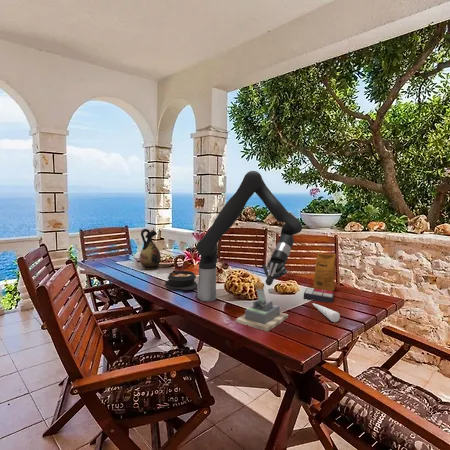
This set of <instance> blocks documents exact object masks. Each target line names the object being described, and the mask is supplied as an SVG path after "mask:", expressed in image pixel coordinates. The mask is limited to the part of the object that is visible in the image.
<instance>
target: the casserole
mask: <svg viewBox="0 0 450 450" xmlns="http://www.w3.org/2000/svg"><path fill="white" fill-rule="evenodd" d="M196 278H197V276H196V275H195V273H194V272H193V271H190V270H176V271H172V272H170V273H169V275H168V276H167V279H168V280H165V281H164V283H165V286H166V287H168V288H170V289H174V290H178V291H191V290H195V289H196V290H197V282H198V281H196V280H195V279H196Z"/></svg>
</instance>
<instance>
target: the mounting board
mask: <svg viewBox="0 0 450 450" xmlns="http://www.w3.org/2000/svg"><path fill="white" fill-rule="evenodd" d="M288 318H289V314H288V313H283V312H281V311H280V315H278V316H277V317H275V318H274V319H272V320H271V321H269V322H268V323H266V324H261V323H258V322H254V321H251V320H247V319H245V313H244V314H243V315H241V316H238V317H237V318H236V319H235V322H236V323H237V324H238V323H239V324H242V325H244V326H247V325H248V327H252V328H254V329H257V330H261V331H264V332H266V333H267V332H270V331H271V330H273V329H274V328H275V327H277V326H278V325H280V324H281V323H282V322H284V321H285V320H286V319H288Z"/></svg>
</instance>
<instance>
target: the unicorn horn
mask: <svg viewBox="0 0 450 450" xmlns="http://www.w3.org/2000/svg"><path fill="white" fill-rule="evenodd" d="M312 306H313V307H315V309H317V310H318V312H320V313H321V314H322V315H324V316H325V317H326V318H327V319H328V320H329V321H330V322H332V323H337V322H339V320H340V318H341V315H340V313H339V312H338V311H335V310H333V309H330V308H329V307H328V308H327V307H325V306H323V305H320V304H317V303H314V302H312Z"/></svg>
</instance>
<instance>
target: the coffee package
mask: <svg viewBox="0 0 450 450" xmlns="http://www.w3.org/2000/svg"><path fill="white" fill-rule="evenodd" d="M336 255H337V254H336V253H330V254H328V253H322V252H317V253H316V258H315V259H316V262H315V267H314V277H313V287H312V288H313V289H321V290H328V291H333V292H334V291H335V289H336V286H335V277H336Z"/></svg>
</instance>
